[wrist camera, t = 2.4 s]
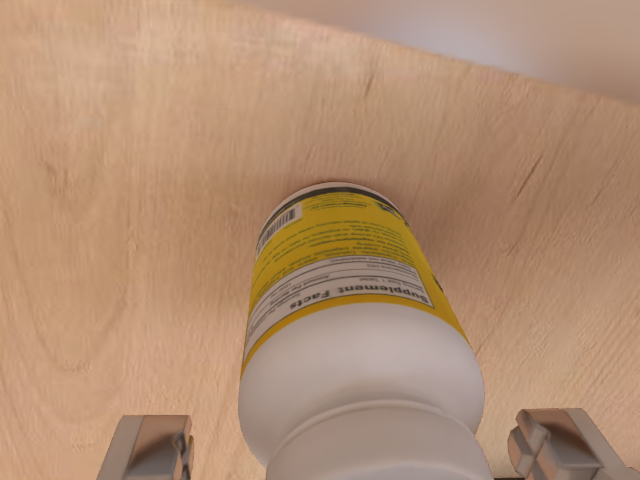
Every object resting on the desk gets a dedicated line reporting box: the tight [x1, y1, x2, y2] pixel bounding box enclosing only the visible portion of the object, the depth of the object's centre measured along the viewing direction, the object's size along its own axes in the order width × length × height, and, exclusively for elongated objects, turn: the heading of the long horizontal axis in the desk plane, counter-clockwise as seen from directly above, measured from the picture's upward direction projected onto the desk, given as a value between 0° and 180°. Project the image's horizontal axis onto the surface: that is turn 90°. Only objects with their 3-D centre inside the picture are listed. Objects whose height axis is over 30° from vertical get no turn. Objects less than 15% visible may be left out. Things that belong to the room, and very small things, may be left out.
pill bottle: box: [238, 182, 494, 480], centre depth 13 cm, size 6×6×11 cm
